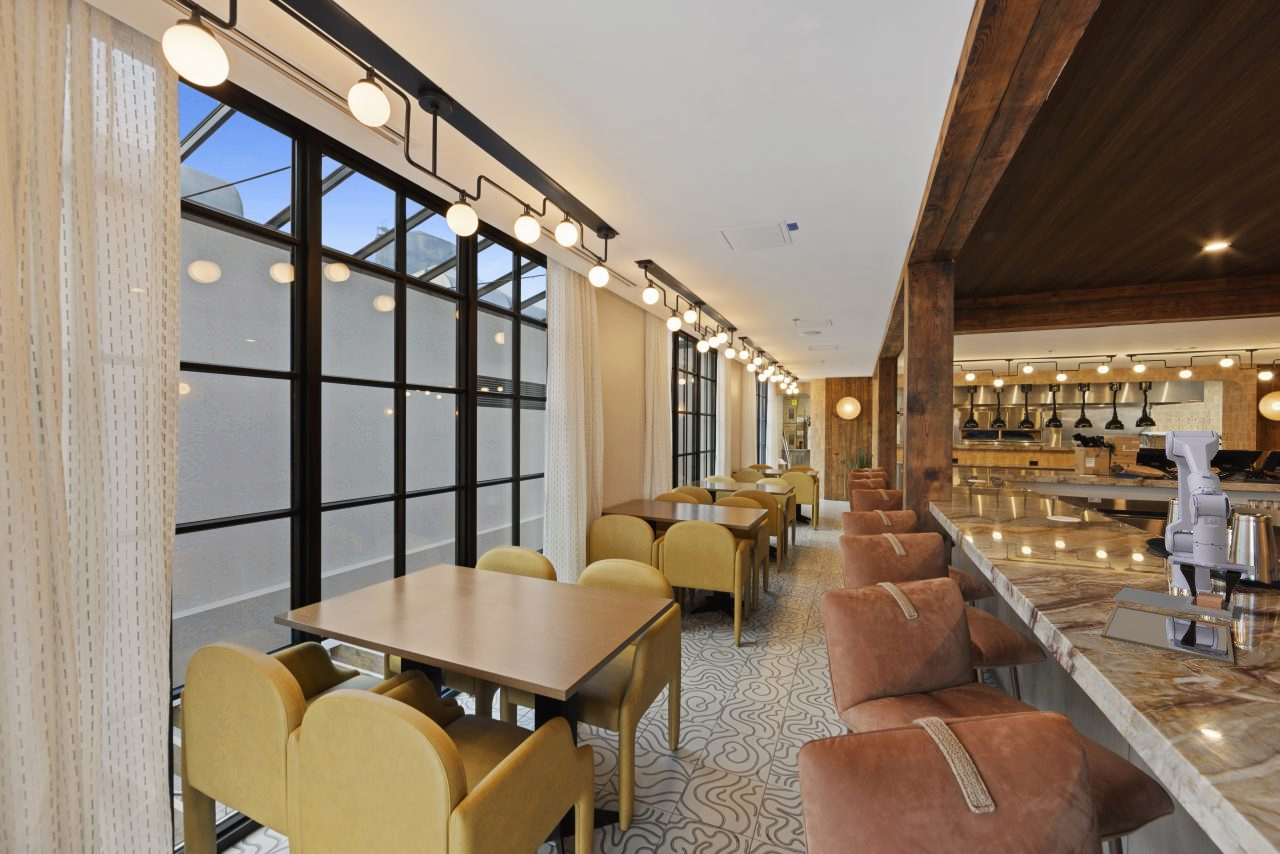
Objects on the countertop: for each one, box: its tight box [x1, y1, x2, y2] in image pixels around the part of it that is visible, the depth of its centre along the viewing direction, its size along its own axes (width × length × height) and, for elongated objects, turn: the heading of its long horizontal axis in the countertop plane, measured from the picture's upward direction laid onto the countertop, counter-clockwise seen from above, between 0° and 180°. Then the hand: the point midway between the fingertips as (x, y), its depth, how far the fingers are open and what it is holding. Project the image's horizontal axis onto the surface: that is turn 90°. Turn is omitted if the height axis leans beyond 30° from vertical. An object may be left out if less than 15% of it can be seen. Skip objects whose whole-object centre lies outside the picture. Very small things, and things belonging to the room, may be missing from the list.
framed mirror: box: [1100, 604, 1235, 666], centre depth 118 cm, size 19×1×28 cm
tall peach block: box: [1197, 591, 1225, 610], centre depth 132 cm, size 4×9×3 cm, turn 130°
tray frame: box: [1186, 594, 1236, 618], centre depth 132 cm, size 13×8×2 cm, turn 130°
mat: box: [1112, 586, 1244, 623], centre depth 136 cm, size 16×22×1 cm
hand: (1210, 598), depth 132 cm, fingers open, 5 cm apart
